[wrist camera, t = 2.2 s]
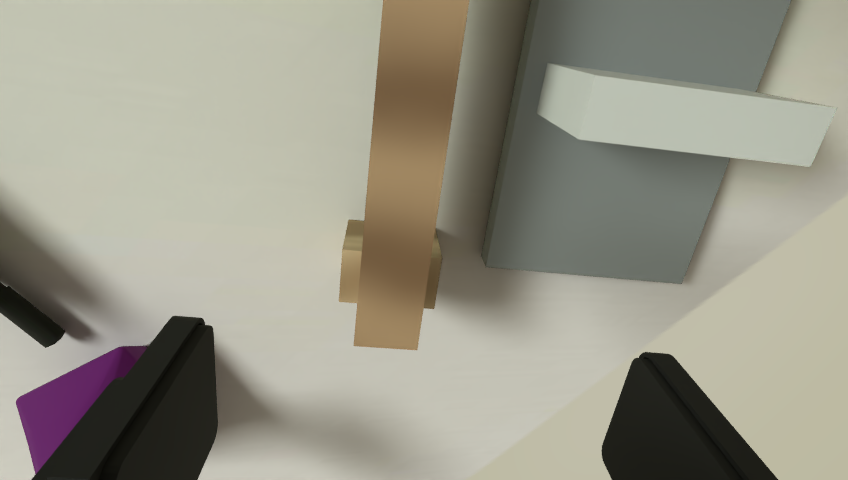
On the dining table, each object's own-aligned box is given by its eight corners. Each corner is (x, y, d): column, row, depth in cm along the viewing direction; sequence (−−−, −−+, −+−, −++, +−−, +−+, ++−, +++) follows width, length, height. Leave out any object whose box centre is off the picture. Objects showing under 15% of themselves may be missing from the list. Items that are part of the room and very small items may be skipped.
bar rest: (381, -237, 20) (379, -295, 16) (501, -213, 20) (525, -264, 17) (345, 266, 29) (338, 301, 25) (428, 273, 29) (434, 309, 26)
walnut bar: (411, -309, 16) (415, -377, 13) (499, -290, 16) (521, -352, 14) (357, 311, 26) (353, 345, 23) (414, 315, 26) (417, 350, 23)
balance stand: (561, -156, 21) (642, -239, 14) (809, -109, 23) (991, -166, 16) (481, 255, 29) (509, 326, 22) (668, 272, 31) (748, 344, 24)
